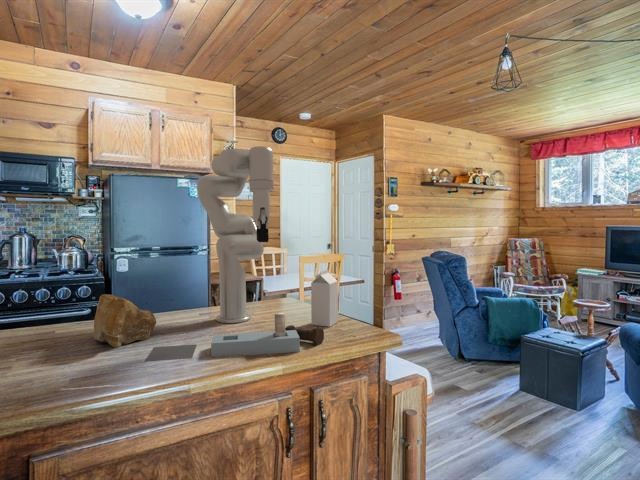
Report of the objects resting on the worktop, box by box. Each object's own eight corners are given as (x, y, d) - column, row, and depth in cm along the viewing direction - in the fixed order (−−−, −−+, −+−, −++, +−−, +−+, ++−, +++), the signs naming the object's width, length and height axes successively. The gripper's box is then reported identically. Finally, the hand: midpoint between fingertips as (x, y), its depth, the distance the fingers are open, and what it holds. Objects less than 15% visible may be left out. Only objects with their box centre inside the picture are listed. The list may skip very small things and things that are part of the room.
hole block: (211, 358, 108) (211, 343, 108) (213, 348, 116) (213, 335, 115) (299, 351, 112) (299, 337, 112) (295, 343, 120) (295, 329, 120)
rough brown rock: (163, 348, 119) (166, 297, 120) (100, 354, 110) (103, 299, 110) (145, 333, 138) (148, 289, 139) (90, 337, 128) (93, 291, 129)
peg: (274, 347, 117) (274, 313, 116) (285, 346, 117) (284, 312, 117) (275, 350, 114) (275, 315, 113) (286, 349, 114) (285, 315, 114)
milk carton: (337, 322, 144) (337, 270, 143) (329, 327, 138) (329, 272, 137) (319, 320, 147) (319, 269, 146) (311, 325, 141) (310, 271, 140)
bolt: (280, 343, 127) (321, 348, 120) (271, 338, 123) (314, 344, 116) (284, 325, 129) (325, 329, 122) (276, 320, 125) (318, 324, 118)
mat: (154, 348, 116) (154, 347, 116) (197, 345, 119) (196, 344, 119) (144, 362, 105) (144, 361, 105) (192, 359, 107) (192, 357, 107)
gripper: (248, 189, 134) (249, 240, 135) (250, 184, 117) (251, 243, 118) (271, 189, 135) (272, 239, 136) (275, 184, 118) (276, 242, 119)
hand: (262, 241), depth 127 cm, fingers open, 9 cm apart
